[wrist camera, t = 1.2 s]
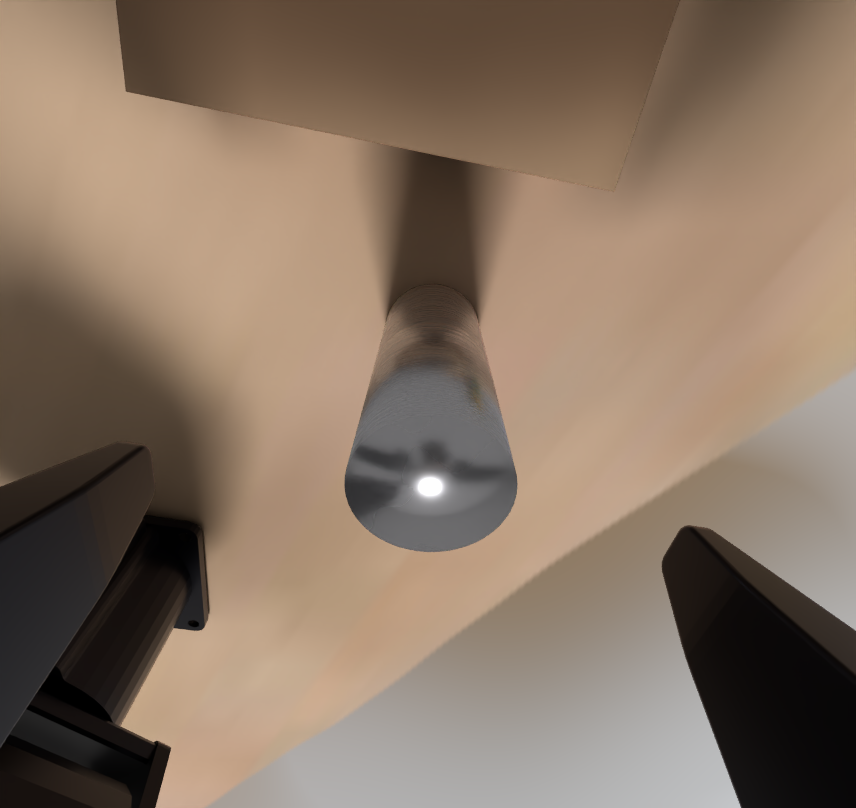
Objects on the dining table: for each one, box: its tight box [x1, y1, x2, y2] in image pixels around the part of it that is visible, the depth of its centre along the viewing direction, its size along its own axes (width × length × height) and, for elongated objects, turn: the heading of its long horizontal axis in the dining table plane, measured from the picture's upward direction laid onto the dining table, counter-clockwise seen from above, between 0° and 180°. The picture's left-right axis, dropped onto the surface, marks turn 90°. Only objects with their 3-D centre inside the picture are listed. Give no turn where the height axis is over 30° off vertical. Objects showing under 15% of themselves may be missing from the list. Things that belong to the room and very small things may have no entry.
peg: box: [345, 284, 517, 552], centre depth 12 cm, size 3×3×8 cm
